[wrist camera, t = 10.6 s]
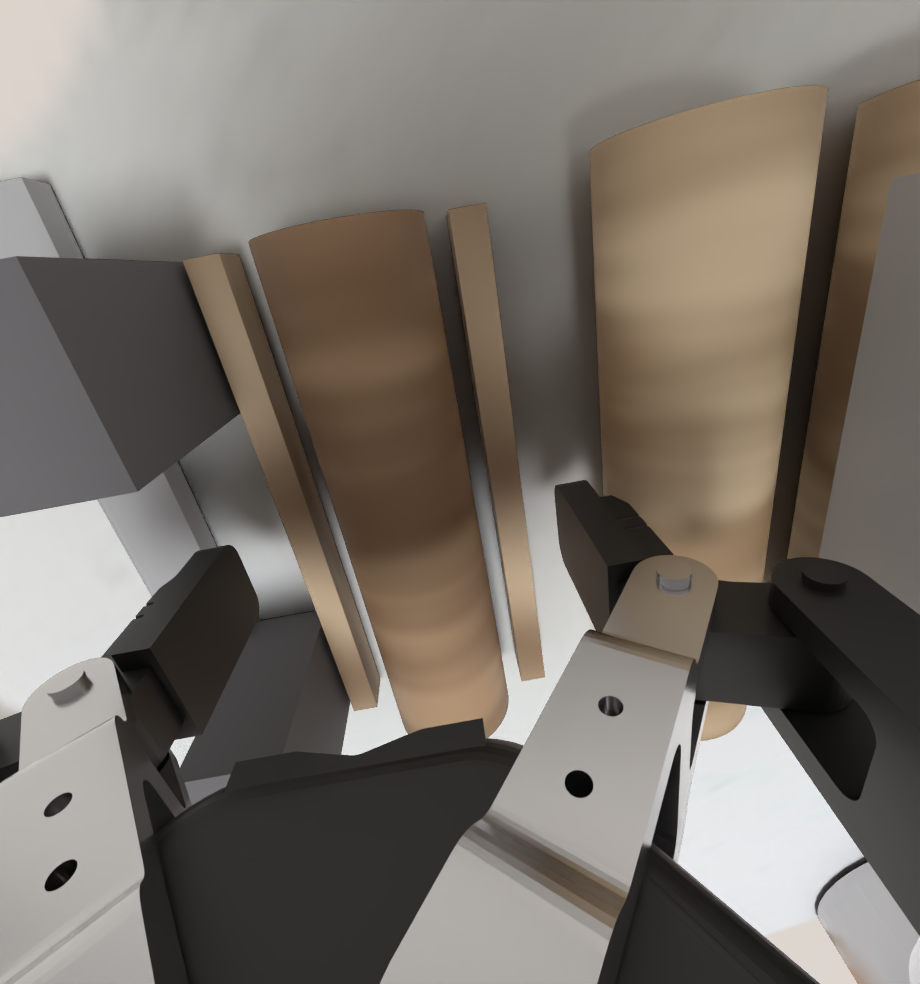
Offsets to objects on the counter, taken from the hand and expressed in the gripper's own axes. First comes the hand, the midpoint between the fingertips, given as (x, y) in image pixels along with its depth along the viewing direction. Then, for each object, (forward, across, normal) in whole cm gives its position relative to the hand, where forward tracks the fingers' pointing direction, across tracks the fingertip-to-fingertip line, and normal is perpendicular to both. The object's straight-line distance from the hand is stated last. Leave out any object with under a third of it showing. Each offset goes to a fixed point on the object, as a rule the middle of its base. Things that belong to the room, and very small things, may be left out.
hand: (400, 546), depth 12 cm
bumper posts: (+3, +6, 0) cm, 6 cm away
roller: (+3, 0, 0) cm, 3 cm away
